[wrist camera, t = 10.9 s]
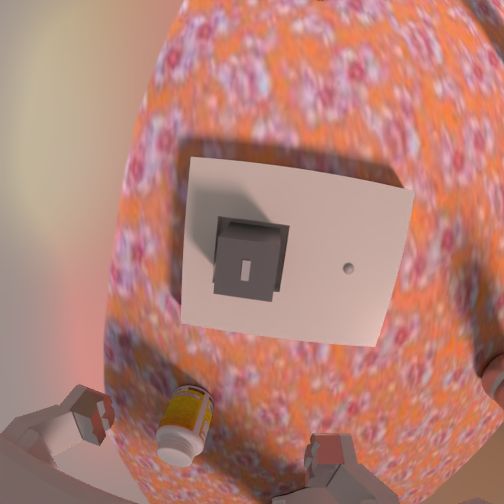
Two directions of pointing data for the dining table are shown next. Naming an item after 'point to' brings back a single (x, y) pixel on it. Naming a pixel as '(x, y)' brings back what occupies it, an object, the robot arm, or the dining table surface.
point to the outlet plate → (296, 250)
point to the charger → (247, 261)
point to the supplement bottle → (184, 426)
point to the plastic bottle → (494, 380)
